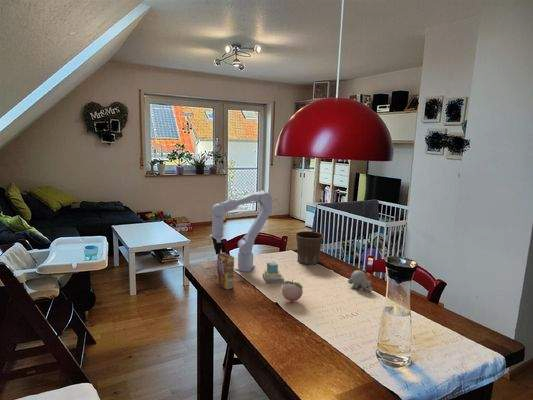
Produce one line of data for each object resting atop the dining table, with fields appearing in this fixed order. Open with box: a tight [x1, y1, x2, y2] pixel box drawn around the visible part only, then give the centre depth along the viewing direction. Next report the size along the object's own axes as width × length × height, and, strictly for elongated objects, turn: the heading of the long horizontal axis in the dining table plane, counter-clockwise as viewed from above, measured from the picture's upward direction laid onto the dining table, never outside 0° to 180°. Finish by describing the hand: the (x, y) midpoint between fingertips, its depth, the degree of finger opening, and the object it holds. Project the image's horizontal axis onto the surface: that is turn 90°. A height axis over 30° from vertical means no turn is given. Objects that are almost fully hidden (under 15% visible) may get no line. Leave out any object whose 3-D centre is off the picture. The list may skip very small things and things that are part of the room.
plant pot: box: [295, 230, 325, 266], centre depth 198 cm, size 16×16×16 cm
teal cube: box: [266, 261, 279, 273], centre depth 171 cm, size 4×4×4 cm
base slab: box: [262, 272, 285, 285], centre depth 172 cm, size 9×9×2 cm
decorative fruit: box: [281, 279, 304, 303], centre depth 148 cm, size 9×8×10 cm
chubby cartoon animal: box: [347, 269, 373, 293], centre depth 163 cm, size 7×12×8 cm, turn 37°
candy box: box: [216, 252, 235, 290], centre depth 163 cm, size 9×4×15 cm, turn 39°
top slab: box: [264, 268, 281, 279], centre depth 172 cm, size 7×7×2 cm
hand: (217, 251), depth 180 cm, fingers open, 7 cm apart
